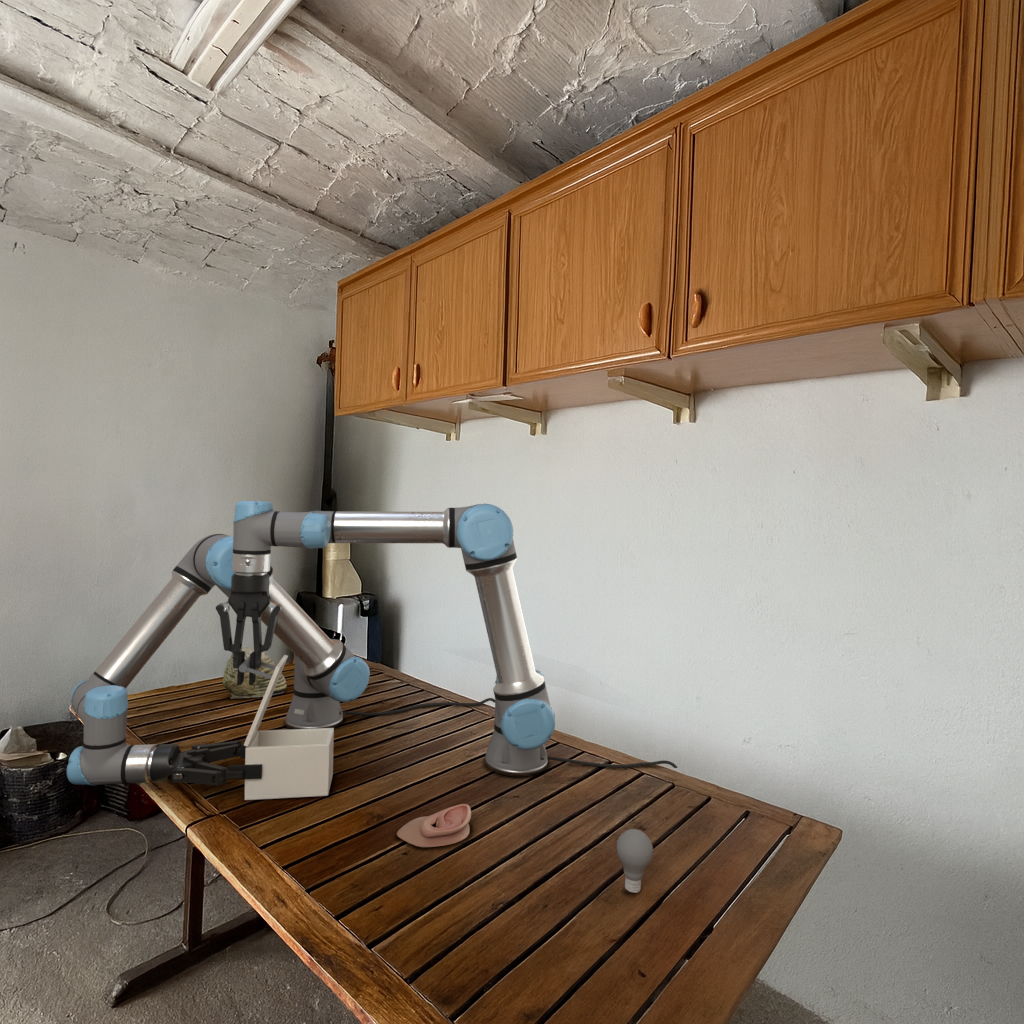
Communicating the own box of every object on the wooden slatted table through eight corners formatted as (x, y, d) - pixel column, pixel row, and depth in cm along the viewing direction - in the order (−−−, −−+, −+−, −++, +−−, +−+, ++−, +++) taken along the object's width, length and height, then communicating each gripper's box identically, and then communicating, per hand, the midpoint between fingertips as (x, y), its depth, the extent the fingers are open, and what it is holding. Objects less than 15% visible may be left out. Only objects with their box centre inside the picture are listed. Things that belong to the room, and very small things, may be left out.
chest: (332, 775, 144) (333, 727, 144) (328, 795, 134) (329, 745, 134) (255, 778, 141) (256, 730, 141) (244, 800, 131) (245, 748, 131)
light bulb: (610, 879, 108) (613, 822, 108) (644, 879, 109) (647, 822, 109) (619, 902, 102) (622, 840, 102) (655, 901, 103) (658, 840, 103)
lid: (288, 655, 141) (253, 644, 140) (280, 667, 131) (243, 655, 130) (258, 729, 141) (223, 717, 139) (247, 746, 131) (209, 735, 129)
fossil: (218, 695, 195) (220, 647, 195) (278, 685, 208) (279, 640, 207) (228, 703, 189) (230, 653, 188) (289, 692, 201) (290, 645, 201)
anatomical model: (391, 821, 117) (413, 793, 128) (390, 842, 117) (412, 813, 128) (460, 832, 114) (476, 802, 125) (459, 853, 114) (475, 822, 126)
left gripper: (173, 759, 143) (276, 756, 148) (132, 807, 121) (254, 803, 125) (174, 726, 143) (277, 724, 147) (133, 768, 121) (256, 765, 125)
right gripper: (208, 574, 130) (204, 688, 130) (284, 576, 132) (279, 688, 133) (218, 570, 137) (214, 678, 138) (290, 572, 140) (285, 678, 140)
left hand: (266, 760), depth 136 cm, fingers closed on chest, 10 cm apart
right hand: (246, 683), depth 135 cm, fingers closed on lid, 2 cm apart
